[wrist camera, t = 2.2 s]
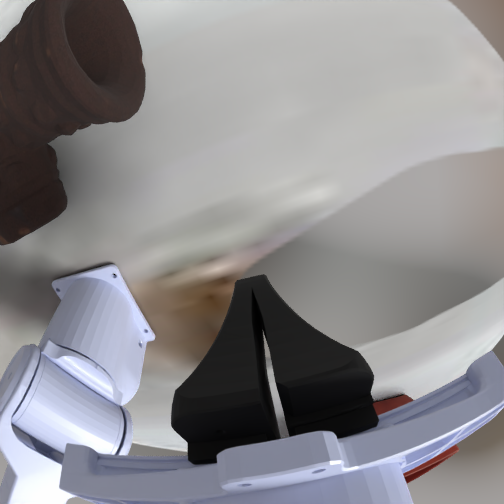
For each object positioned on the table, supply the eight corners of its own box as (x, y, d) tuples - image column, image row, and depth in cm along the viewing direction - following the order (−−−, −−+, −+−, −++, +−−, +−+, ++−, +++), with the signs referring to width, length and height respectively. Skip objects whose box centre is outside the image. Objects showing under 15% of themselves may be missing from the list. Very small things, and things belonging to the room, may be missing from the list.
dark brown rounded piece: (-25, 267, 13) (107, 218, 11) (-72, 94, 7) (50, -51, 4) (43, 213, 22) (177, 164, 19) (5, 77, 15) (131, -11, 12)
